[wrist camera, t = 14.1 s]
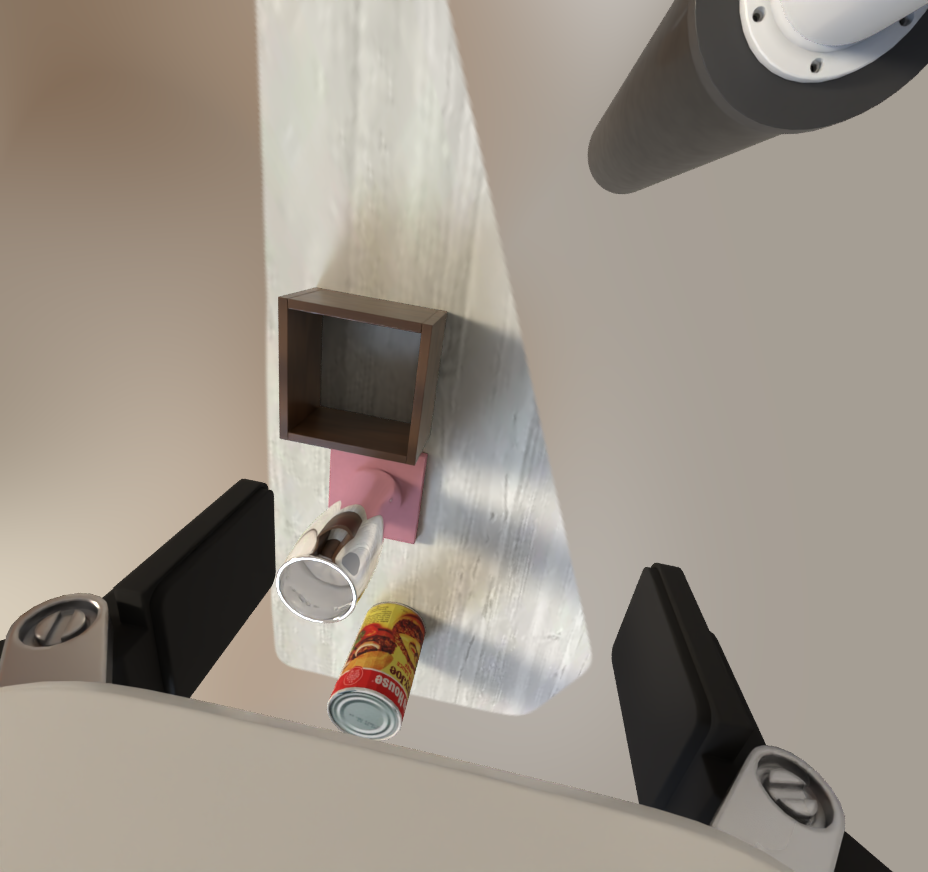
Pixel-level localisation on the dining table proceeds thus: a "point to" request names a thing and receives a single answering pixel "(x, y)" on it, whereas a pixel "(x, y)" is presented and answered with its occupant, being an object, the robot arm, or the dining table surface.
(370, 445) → the brown wooden box
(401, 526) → the mat
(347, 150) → the dining table surface
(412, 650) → the canned food
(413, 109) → the dining table surface
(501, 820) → the robot arm
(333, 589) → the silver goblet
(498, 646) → the dining table surface
